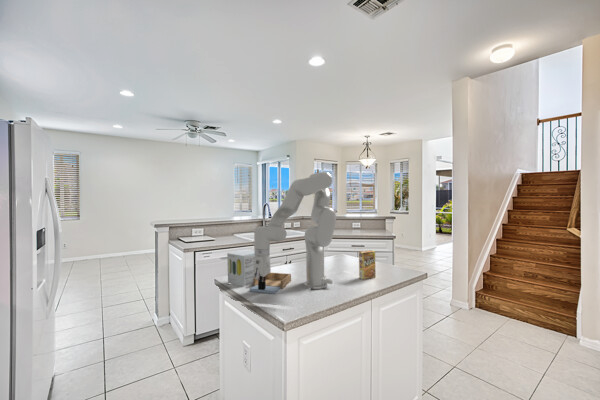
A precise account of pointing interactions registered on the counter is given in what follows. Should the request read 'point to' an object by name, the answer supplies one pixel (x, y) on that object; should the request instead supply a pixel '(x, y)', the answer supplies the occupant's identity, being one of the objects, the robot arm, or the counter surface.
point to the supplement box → (241, 267)
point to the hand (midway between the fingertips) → (261, 289)
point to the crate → (276, 280)
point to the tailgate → (268, 289)
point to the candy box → (367, 264)
